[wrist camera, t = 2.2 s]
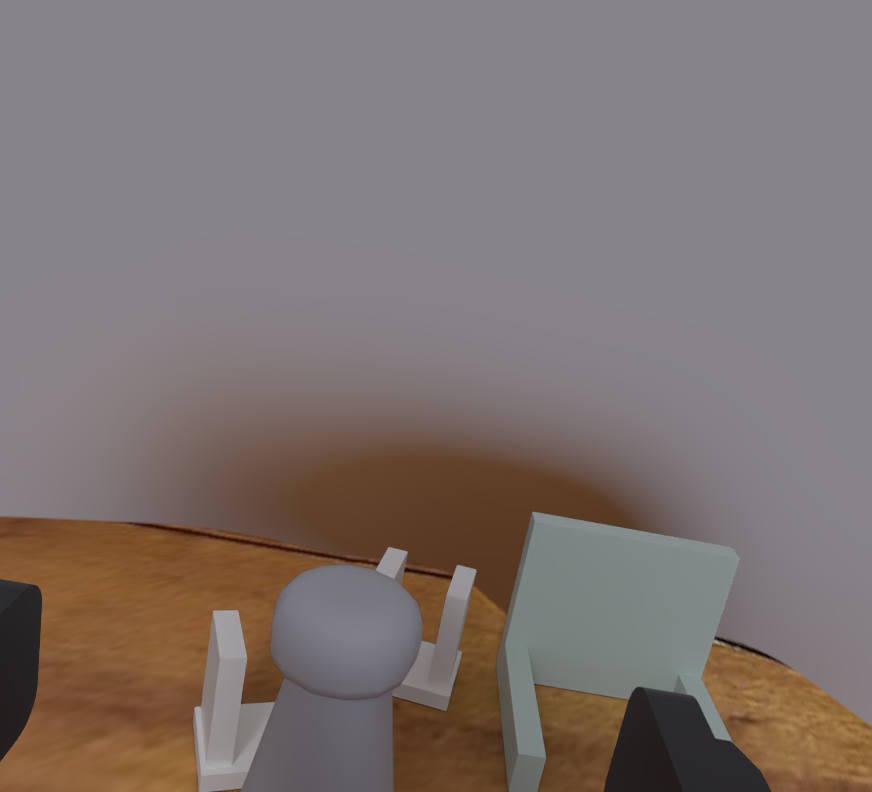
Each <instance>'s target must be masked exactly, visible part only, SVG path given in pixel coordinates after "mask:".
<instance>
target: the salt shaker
mask: <svg viewBox="0 0 872 792" xmlns="http://www.w3.org/2000/svg"><path fill="white" fill-rule="evenodd" d="M421 642H422V618H421V614H420V610H419V607H418V603H417V602H416V601H415V599H414V598H413V597H412V596H411V595H410V594H409V593H408V592H407V591H406V590H405V589H404V588H403V587H402V586H401V585H400V584H399V583H398V582H397V581H396V580H395V579H393V578H391V577H389V576H386V575H384V574H382V573H380V572H378V571H376V570H373V569H368V568H363V567H358V566H354V565H325V566H321V567H318V568H315V569H312V570H308V571H305V572H303V573H302V574H300V575H298V576H297V577H295V578H294V579H293V580H292V581H291V582H290V583H289V584H288V585H287V586H286V587H285V588H284V589H283V590H282V591H281V592H280V595H279V597H278V600H277V603H276V606H275V609H274V614H273V624H272V635H271V647H270V651H271V655H272V660H273V661H274V663H275V664H276V665H277V667H278V668H279V670H280V671H281V672H282V674H283V675H284V676H285V677H284V680H283V683H282V685H281V688H280V690H279V693H278V696H277V698H276V701H275V703H274V706H273V709H272V711H271V714H270V716H269V719H268V722H267V724H266V727H265V729H264V732H263V735H262V737H261V740H260V742H259V745H258V748H257V750H256V753H255V755H254V758H253V761H252V763H251V766H250V768H249V771H248V774H247V776H246V779H245V781H244V784H243V787H242V789H241V792H393V699H392V690H393V689H395V688H397V687H399V686H400V685H401V684H402V682H403V681H404V679H405V678H406V676H407V674H408V673H409V671H410V669H411V668H412V666H413V665H414V663H415V661H416V659H417V656H418V653H419V649H420V646H421Z"/></svg>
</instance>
